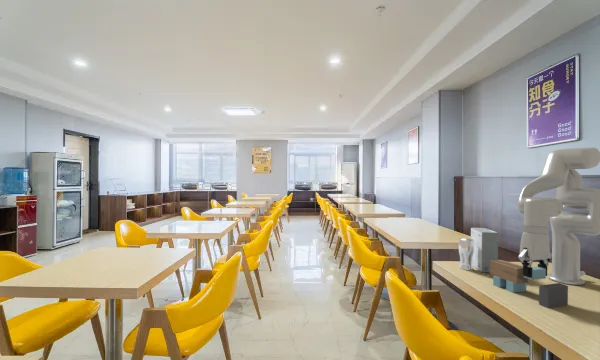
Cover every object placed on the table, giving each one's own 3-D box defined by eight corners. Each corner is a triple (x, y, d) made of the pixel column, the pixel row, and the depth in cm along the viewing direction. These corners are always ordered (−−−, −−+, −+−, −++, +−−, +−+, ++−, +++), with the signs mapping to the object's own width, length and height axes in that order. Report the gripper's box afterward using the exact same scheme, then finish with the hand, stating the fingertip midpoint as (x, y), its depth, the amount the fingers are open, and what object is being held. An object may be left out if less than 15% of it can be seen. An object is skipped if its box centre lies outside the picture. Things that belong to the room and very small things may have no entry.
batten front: (519, 288, 124) (519, 279, 124) (526, 291, 121) (526, 281, 121) (506, 290, 122) (506, 280, 122) (513, 292, 120) (513, 282, 119)
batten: (537, 275, 117) (537, 266, 117) (545, 278, 114) (545, 268, 114) (524, 277, 115) (524, 267, 115) (532, 279, 112) (532, 270, 112)
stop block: (558, 301, 111) (558, 283, 111) (567, 304, 108) (568, 285, 108) (539, 304, 108) (539, 285, 108) (547, 307, 106) (548, 288, 106)
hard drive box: (498, 273, 144) (498, 232, 143) (481, 272, 145) (481, 232, 145) (485, 264, 159) (485, 227, 159) (469, 263, 160) (470, 227, 160)
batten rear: (505, 283, 130) (505, 274, 130) (512, 285, 127) (512, 276, 127) (493, 284, 128) (493, 275, 128) (499, 287, 125) (499, 278, 125)
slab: (500, 273, 132) (500, 259, 132) (527, 282, 120) (528, 267, 120) (490, 274, 130) (490, 260, 130) (516, 283, 119) (516, 268, 119)
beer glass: (455, 267, 153) (455, 238, 153) (464, 265, 156) (464, 237, 156) (467, 271, 147) (467, 241, 147) (477, 269, 150) (477, 240, 149)
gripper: (542, 228, 120) (541, 271, 120) (509, 229, 116) (508, 274, 116) (562, 231, 113) (561, 277, 113) (528, 232, 108) (528, 280, 108)
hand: (535, 275), depth 114 cm, fingers closed on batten, 7 cm apart
